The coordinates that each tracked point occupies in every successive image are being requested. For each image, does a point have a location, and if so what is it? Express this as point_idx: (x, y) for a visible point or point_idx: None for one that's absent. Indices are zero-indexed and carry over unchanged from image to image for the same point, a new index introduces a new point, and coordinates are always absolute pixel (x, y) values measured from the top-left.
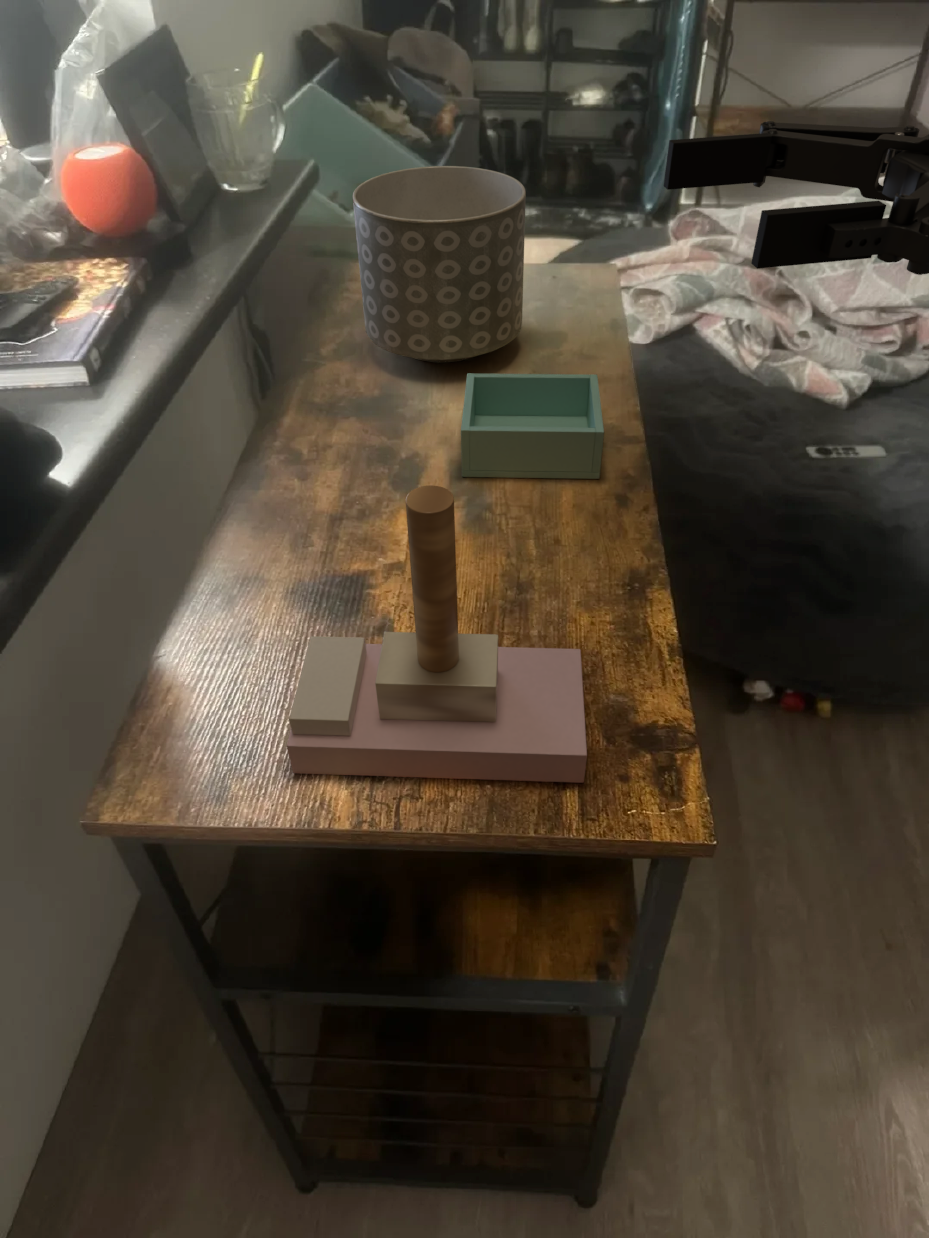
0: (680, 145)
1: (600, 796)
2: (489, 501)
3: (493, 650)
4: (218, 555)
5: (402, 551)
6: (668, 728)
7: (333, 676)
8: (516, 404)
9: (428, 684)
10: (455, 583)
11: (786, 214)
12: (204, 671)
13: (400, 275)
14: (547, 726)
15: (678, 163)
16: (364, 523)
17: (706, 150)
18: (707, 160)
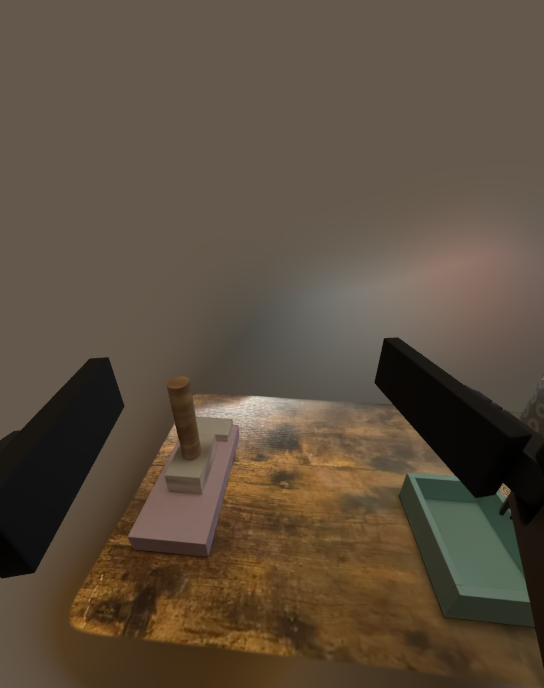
0: (388, 345)
1: (120, 558)
2: (377, 512)
3: (188, 475)
4: (308, 402)
5: (318, 463)
6: (146, 622)
7: (207, 426)
8: (502, 530)
9: (177, 449)
10: (178, 424)
11: (77, 371)
12: (245, 406)
13: (533, 408)
14: (155, 516)
15: (384, 363)
16: (338, 446)
17: (409, 371)
18: (408, 385)
